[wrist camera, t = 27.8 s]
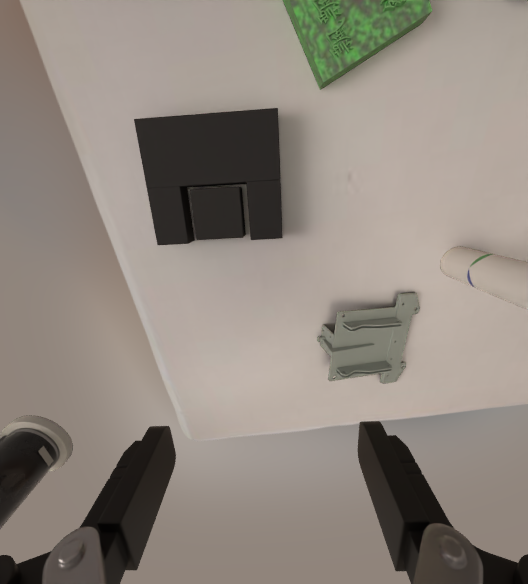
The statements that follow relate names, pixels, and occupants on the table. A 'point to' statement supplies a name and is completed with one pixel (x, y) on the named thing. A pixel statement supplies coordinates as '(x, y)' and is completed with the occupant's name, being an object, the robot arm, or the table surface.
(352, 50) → the green jade tablet
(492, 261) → the tube
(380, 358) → the metal bracket
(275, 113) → the black flat notched block
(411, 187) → the table surface
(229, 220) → the small black block
